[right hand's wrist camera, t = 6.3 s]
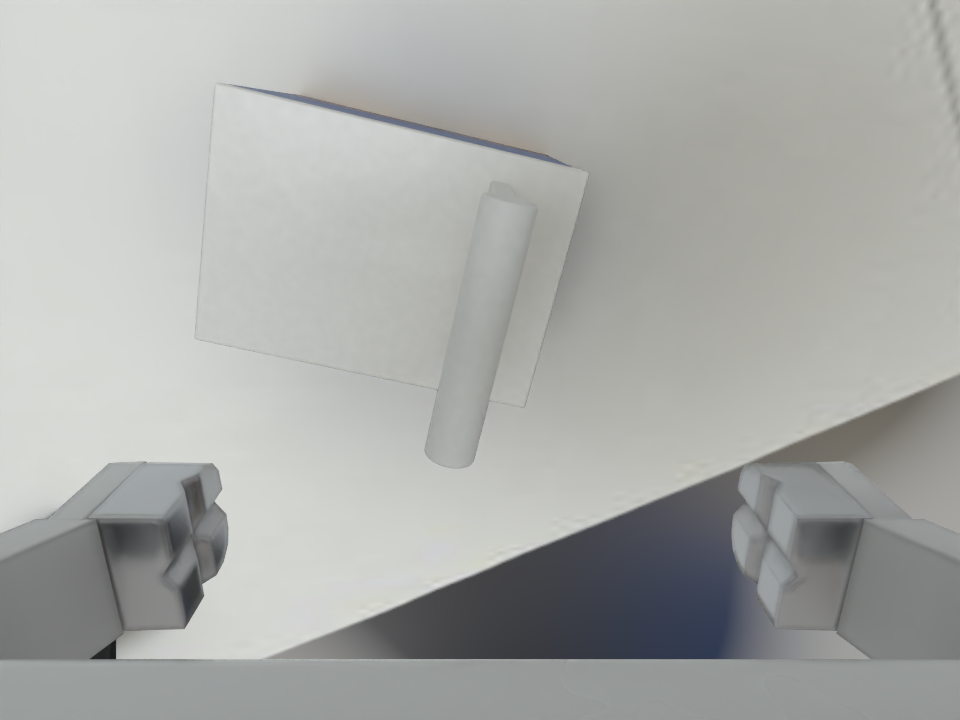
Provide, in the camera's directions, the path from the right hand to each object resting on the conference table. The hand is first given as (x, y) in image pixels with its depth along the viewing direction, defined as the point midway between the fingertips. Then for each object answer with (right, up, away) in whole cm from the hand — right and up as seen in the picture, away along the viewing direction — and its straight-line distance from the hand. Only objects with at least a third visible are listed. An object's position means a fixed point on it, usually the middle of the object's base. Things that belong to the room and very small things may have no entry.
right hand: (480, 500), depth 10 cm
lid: (-4, +6, +15) cm, 17 cm away
